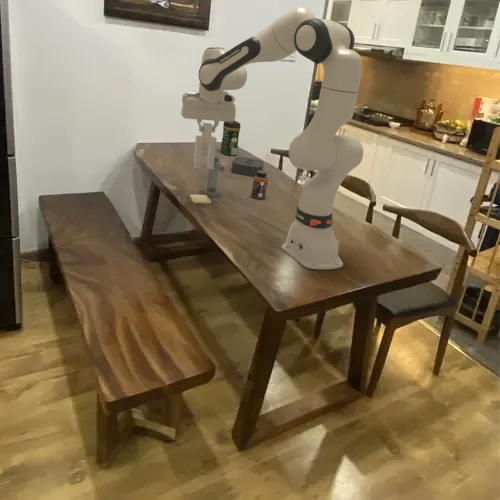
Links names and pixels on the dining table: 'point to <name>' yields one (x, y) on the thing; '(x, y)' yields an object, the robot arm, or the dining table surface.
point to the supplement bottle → (259, 185)
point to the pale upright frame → (211, 149)
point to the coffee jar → (230, 138)
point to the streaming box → (247, 166)
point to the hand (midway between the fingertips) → (206, 131)
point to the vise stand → (213, 180)
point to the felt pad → (200, 199)
